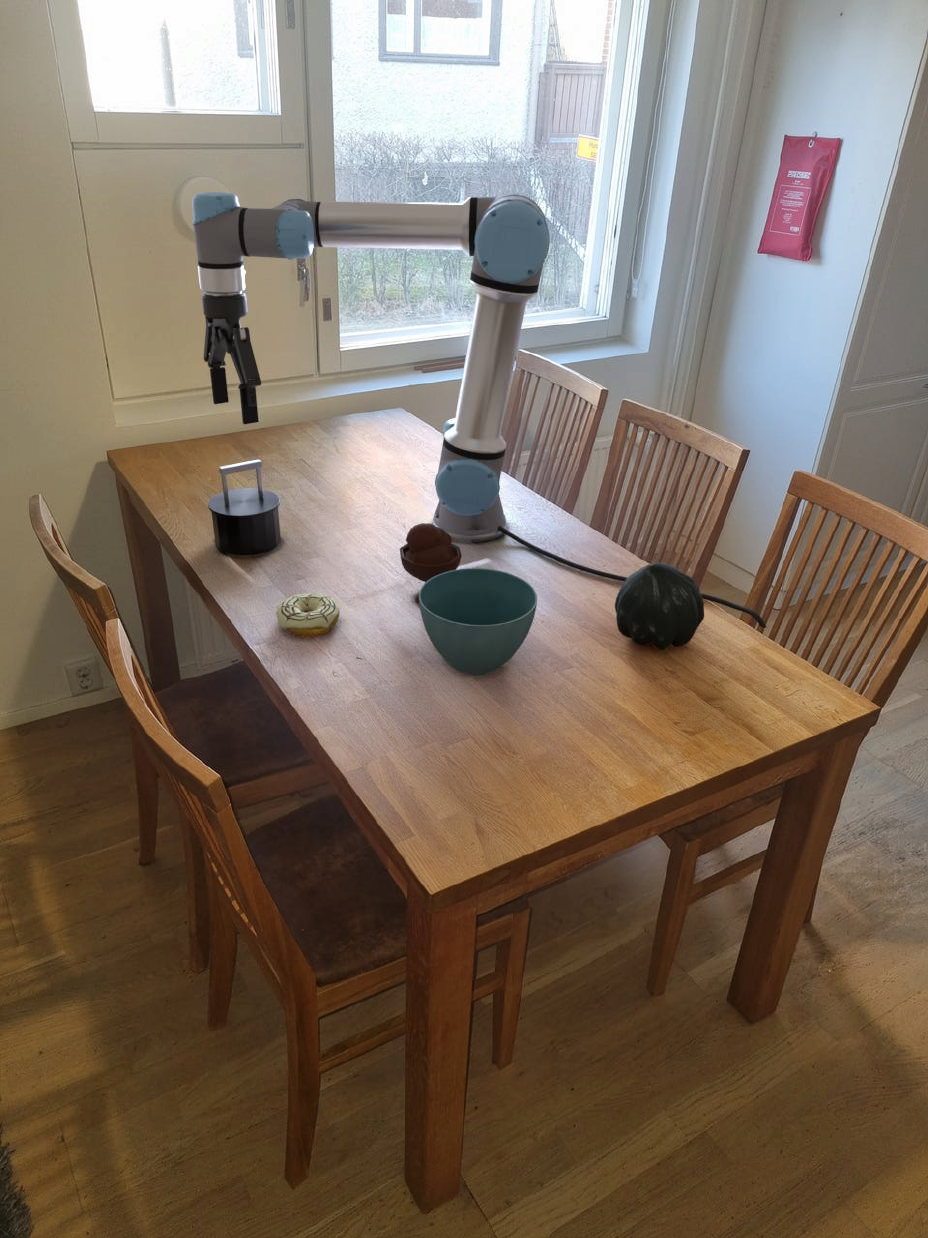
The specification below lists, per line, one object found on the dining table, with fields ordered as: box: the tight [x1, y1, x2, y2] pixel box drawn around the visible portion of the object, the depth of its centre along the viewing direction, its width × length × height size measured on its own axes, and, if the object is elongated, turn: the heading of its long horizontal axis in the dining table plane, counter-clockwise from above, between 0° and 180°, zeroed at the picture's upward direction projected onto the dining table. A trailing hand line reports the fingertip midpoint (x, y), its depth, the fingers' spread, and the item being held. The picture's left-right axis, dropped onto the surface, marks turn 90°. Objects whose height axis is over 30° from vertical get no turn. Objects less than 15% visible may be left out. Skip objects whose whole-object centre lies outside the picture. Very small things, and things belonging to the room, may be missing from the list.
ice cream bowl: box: [399, 522, 462, 605], centre depth 159 cm, size 11×11×15 cm
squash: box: [614, 562, 705, 651], centre depth 150 cm, size 14×15×15 cm
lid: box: [207, 459, 281, 518], centre depth 173 cm, size 14×14×9 cm
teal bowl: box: [418, 567, 538, 676], centre depth 142 cm, size 18×18×12 cm
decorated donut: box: [275, 592, 340, 639], centre depth 153 cm, size 10×11×4 cm
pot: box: [211, 507, 282, 557], centre depth 177 cm, size 13×13×8 cm
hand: (235, 412), depth 166 cm, fingers open, 13 cm apart
